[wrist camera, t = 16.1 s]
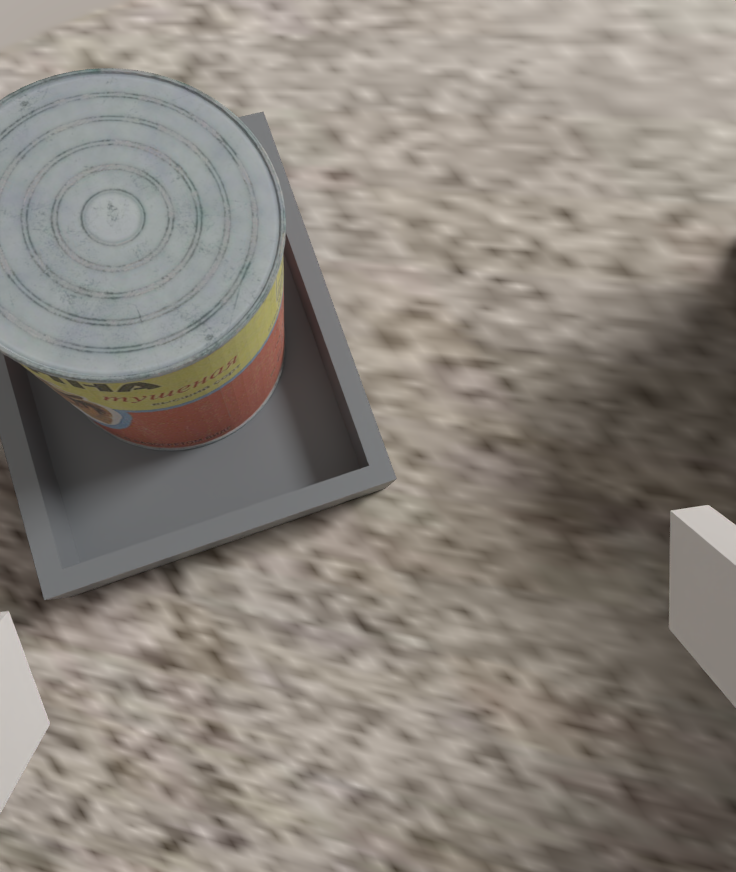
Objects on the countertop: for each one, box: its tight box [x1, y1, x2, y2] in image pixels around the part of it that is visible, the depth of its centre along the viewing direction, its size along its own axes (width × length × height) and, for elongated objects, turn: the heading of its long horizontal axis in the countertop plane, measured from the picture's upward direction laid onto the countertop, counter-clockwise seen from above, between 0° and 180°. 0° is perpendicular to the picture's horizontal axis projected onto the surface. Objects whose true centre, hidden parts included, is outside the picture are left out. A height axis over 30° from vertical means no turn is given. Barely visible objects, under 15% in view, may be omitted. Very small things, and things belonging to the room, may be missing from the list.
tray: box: [0, 112, 396, 600], centre depth 32 cm, size 16×20×4 cm
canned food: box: [0, 68, 286, 451], centre depth 27 cm, size 11×11×12 cm
